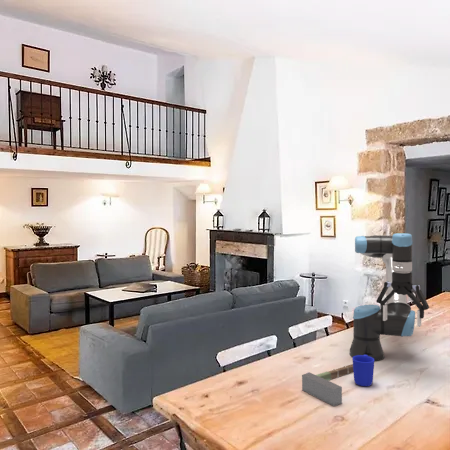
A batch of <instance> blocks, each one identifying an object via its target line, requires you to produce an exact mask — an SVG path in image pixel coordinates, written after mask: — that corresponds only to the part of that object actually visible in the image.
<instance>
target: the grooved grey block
mask: <svg viewBox="0 0 450 450" xmlns="http://www.w3.org/2000/svg"><path fill="white" fill-rule="evenodd" d="M301 390H302V391H303V392H305V393H306V394H308V395H311V396H312V397H315V398H316V399H318V400H319V401H322V402H324V403H326V404H328V405H331V406H332V407H336V406H339V405H341V404H343V387H342V386H341V385H339V384H337V383H334V382H332V381H331V380H325V379H323V378H321V377H319V376H317V374H314V373H312V372H307V373H304V374H301Z"/></svg>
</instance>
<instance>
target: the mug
mask: <svg viewBox="0 0 450 450" xmlns="http://www.w3.org/2000/svg"><path fill="white" fill-rule="evenodd" d="M351 361H352V364H353V381H354V383H355V384H356V385H358V386H361V387H370V386H372V384H373V380H374V370H375V361H374V359H373V358H372V357H369V356H367V355H357V356H354V357H352V360H351Z"/></svg>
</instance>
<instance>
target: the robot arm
mask: <svg viewBox="0 0 450 450" xmlns="http://www.w3.org/2000/svg"><path fill="white" fill-rule="evenodd" d="M413 243H414V242H413V235H412V234H411V233H406V232H405V233H403V232H402V233H396V232H395V233H393V234H392V235H375V234H374V235H357V236H355V238H354V252H355V254H361V255H362V256H365V257H370V258H373V259H374V258H376V259H379V258H380V259H381V261H382V262H383V263H384V264H385V280H386V281H384V283H383V287H382V289H381V291H380V293H379V295H378V297H377V298H376V301H375V302H376V303H377V304H380V306H379V305H377V304H363V305H358V306H356V307H355V308H354V309H353V314H352V315H353V316H352V319H353V327H352V328H353V331H352V332H353V337H352V338H353V339H352V341H351V345H350V347H349V356H350V357H352V358H353V357H354V356H357V355H367V356H369V357H372V358H373V359H374V362H377V361H382V360H384V357H385V353H384V350H383V347H382V344H381V343H382V342H381V337H380V336H381V335H382V336H393V337H412V336H413V334H414V331H415V322H416V326H417V327H418V328H420V327H421V326H422V319H424V318H425V311H427V310H428V309H430V306H429V303H428V302H427V299H426V297H425V296H424V293H423V291H422V286H421V284H415V285H414V284H413V272H412V271H413ZM412 290H414V291H415V293H416V294H417V297H418V298H419V299H418V298H417V297H416V295H415V293H414V292H413V291H412ZM385 294H386V296H385ZM384 296H385V297H384ZM407 297H409V298H410V300H411V301H412V302H413V304H414V305H415V306H416V307H417V310H416V311H415V310H412V307H411V305H410V304H409V303H408V300H407ZM383 298H384V299H383ZM416 313H417V314H416ZM416 320H417V321H416Z"/></svg>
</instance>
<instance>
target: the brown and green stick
mask: <svg viewBox="0 0 450 450" xmlns="http://www.w3.org/2000/svg"><path fill="white" fill-rule="evenodd" d="M352 373H353V374H354V372H353V363H352V364H348V365H344V366H342V367H338V368H336V369H335V368H333V370H332V369H331V370H328V371H324V372H321V373H318V374H316V375H317V376H319V377H321V378H323V379H325V380H328V381H331V380H333V379H338V378H340V377H343V376H346V375H349V374H352Z"/></svg>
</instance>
